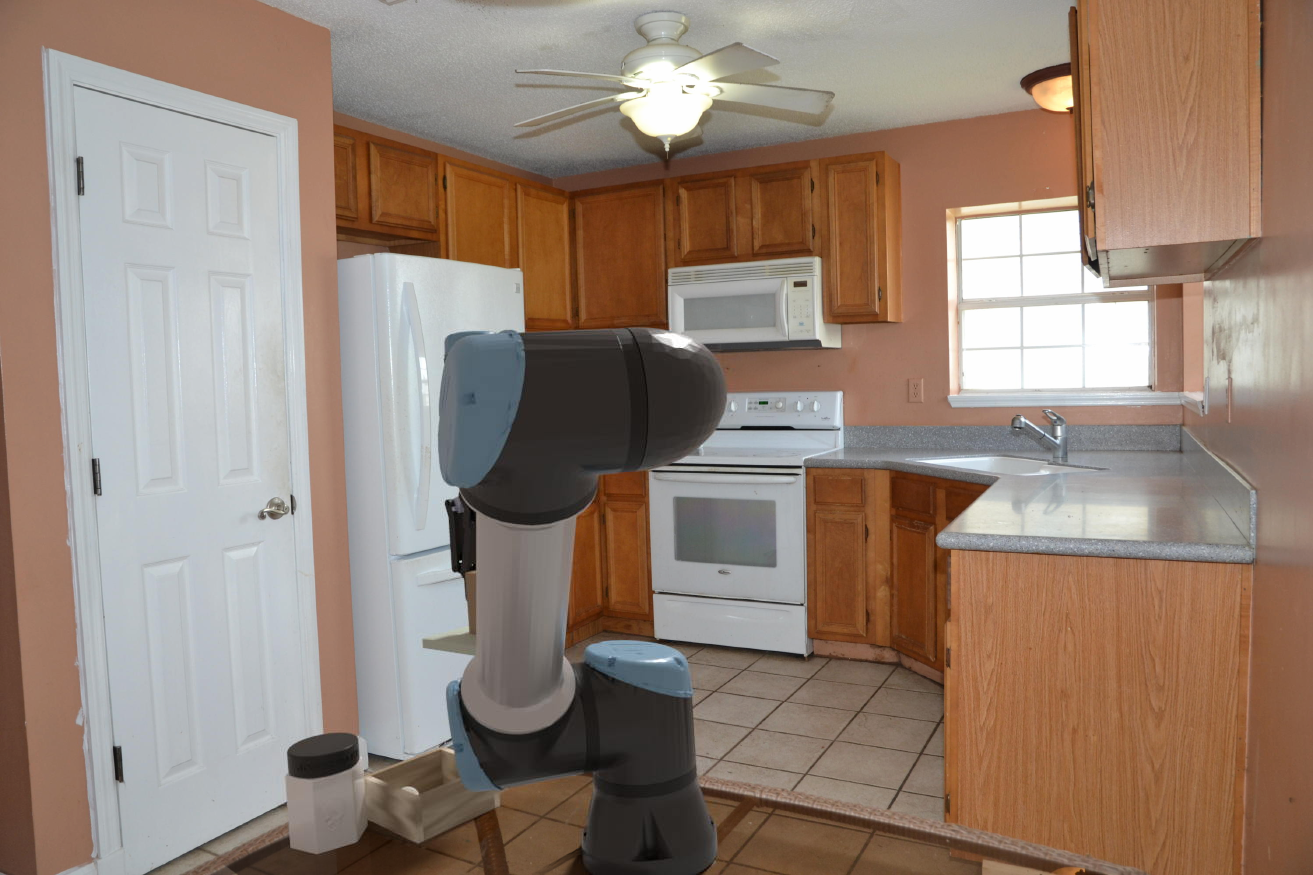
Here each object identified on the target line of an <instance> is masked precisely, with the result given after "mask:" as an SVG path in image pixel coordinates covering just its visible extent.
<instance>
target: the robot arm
mask: <svg viewBox="0 0 1313 875" xmlns="http://www.w3.org/2000/svg"><path fill="white" fill-rule="evenodd" d="M443 342H444V346H443V347H444V355H443V363H444V365H443V370H442V374H441V381H440V389H439V397H438V398H439V400H438V416H439V417H438V418H439V419H438V429H437V430H438V431H437V449H438V450H437V453H438V463H439V471H440V475H441V478H442V479H443V482H444V483H446V485H448V486H449V487H450V486H451V487H457V488H458V496H456V497H455V498H448V499H445V501H444V507H445V510H446V513H447V516H448V517H447V518H448V532H449V534H448V535H449V549H450V563H451V565H450V566H451V571H452V573H454V574H455V573H458V574H460V577H461V578H463V582H464V593H465V594H464V595H465V596H464V597H465V601H466V602H467V593H466V579H465V573H466V572H471V571H476V655H475V656H473V657H472V658H471V659H470V661H469V662H468V663H467V665H466V666H465V669H464V671H463V674H462V676H461V677H459V678H457V679H455V680H452V681H450V682H449V683H448V684H447V686H446V689H445V700H446V701H445V702H446V708H447V709H446V710H447V719H448V726H449V731H450V739H451V742H452V747H453V748H452V749H453V750H454V755H455V761H456V765H457V770H458V774H459V777H460V780H461V782H462V784H463V786H464V787H465V788H466V789H468V790H469V791H472V792H481V791H489V790H495V791H499V792H500V791H503V790H506V789H511V788H516V787H521V786H526V785H531V784H536V783H541V782H547V781H553V780H557V779H558V780H559V779H564V778H568V777H574V776H578V775H584V774H589V773H592V777H593V778H592V779H593V780H592V781H593V791H592V795H591V799H590V803H589V807H588V813H587V819H586V825H585V826H584V829H583V831H582V836H581V853H582V862H583V865H584V867H585V869H586V870H587V871H588V872H589V873H590V874H591V875H698V874H699V873H702V871H704V870H705V869H707V868H708V867H709V866H710V865H711V864H712V863H713V862H714V860H715V859H716V857H717V855H718V848H719V847H718V845H719V844H718V833H717V827H716V826H717V825H716V823H715V822H714V819H713V817H712V816H711V814H710V813H709V809H708V806H707V803H706V800H705V796H704V794H703V793H704V792H703V791H702V789H701V785H700V783H699V780H698V769H697V753H696V738H695V737H696V735H695V724H694V723H695V722H694V708H693V705H694V704H693V696H694V689H693V686H692V680H691V673H690V672H691V671H690V666H689V663H688V659H687V658H686V656H685V655H684V654H682V652H680V651H679V650H677V649H676V648H674V647H671V646H668V645H665V644H660V643H657V642H650V641H643V640H631V639H630V640H625V639H624V640H621V639H619V640H618V639H617V640H616V639H615V640H603V641H600V642H598V643H597V642H596V643H591V644H590V645H588V646H586V648H585V650H584V653H583V655H582V660H583V661H580V662H574V663H573V662H572V663H570V661H569V660H568V659H567V657H566V656H565V646H566V636H567V635H566V633H567V626H568V625H567V624H568V612H569V603H570V601H569V600H570V591H571V580H572V569H573V560H574V559H573V558H574V550H575V537H576V527H577V526H576V525H577V517H578V516H579V515H581V514H582V513H583V512H585V510H587V509H588V508H589V506H591V504H592V503H593V501H594V499H595V497H596V494H597V492H598V486H599V480H600V476H601V475H611V474H613V475H615V474H621V473H632V472H642V471H650V470H654V469H659V468H663V467H666V466H668V465H671V464H673V463H676V462H678V461H680V460H682V459H684V458H686V457H687V456H689V455H690V454H692V453H694V452H695V451H697V450H698V449H699V448H701V446H702V445H703V444H704V443H706V442H707V440H709V439H710V438H711V436H712V435H713V434H714V433H715V432H716V430H717V428H718V426H719V425H720V423H721V420H722V418H723V417H724V414H725V412H726V411H725V410H726V406H727V402H728V385H727V381H726V380H727V379H726V375H725V372H724V369H723V367H722V365H721V363H720V362H719V360H718V359H717V357H716V356H715V355H714V354H713V352H712V351H711V350H709V348H707V346H706V345H704V344H702V342H700V341H698V340H696V339H695V338H693V337H690V336H687V335H686V334H685V335H684V334H683V333H677V332H674V331H672V330H667V329H661V328H653V327H642V326H641V327H639V326H638V327H636V326H635V327H623V328H621V327H620V328H599V329H598V328H596V329H569V330H551V331H550V330H549V331H527V332H526V331H524V332H523V331H522V332H521V331H520V332H518V331H517V330H515V329H503V330H501V331H499V332H494V331H490V330H468V331H466V330H465V331H459V332H454V333H451V334H448V335H447V336H446V337H445V338H444V341H443Z"/></svg>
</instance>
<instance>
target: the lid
mask: <svg viewBox="0 0 1313 875" xmlns="http://www.w3.org/2000/svg"><path fill="white" fill-rule="evenodd" d="M465 579H466V593H467V601H466V605H467V616H468V617H467V618H468V625H466V626H463V627H459V628H456V629H453V630H448V631H444V632H441V633H438V634H434V635H431V636H427V637H423V638H422V640H421V641H422V642H421V643H422V648H423V649H426V650H427V649H429V650H433V651H441V652H448V653H453V654H461V655H465V656H467V655H468V656H473V657H474V656H475V655H476V571H471V572H466V573H465Z"/></svg>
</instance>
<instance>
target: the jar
mask: <svg viewBox="0 0 1313 875" xmlns="http://www.w3.org/2000/svg"><path fill="white" fill-rule="evenodd" d="M359 743H360V742H359V738H358V736H357V735H355V734H354V733H349V732H328V733H322V734H318V735H313V736H309V737H306V738H303V739H301V740H299V741H297V742H295V743H293V744H292V745H290V746H289V747H288V748H287V751H286V756H287V757H286V758H287V770H288V772H287V773H286V774H285V776H284V779H285V780H284V782H285V793H286V805H287V806H286V807H287V819H288V833H289V844H290V845H289V846H290V849H293V850H299V851H302V852H305V853H310V854H315V855H318V854H319V855H320V854H323V853H326V852H329V851H333V850H335V849H339V848H342V847H346V846H349V845H353V844H355V843H358V842H359V840H360V839H361V837H362V835H363V834H364V833H365V830H366V829H367V827H368V823H369V822H368V820H367V809H366V796H365V782H364V776H365V771H364V770H365V769H364V760H363V758H364V757H363V756H362V755H360V744H359Z"/></svg>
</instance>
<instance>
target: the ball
mask: <svg viewBox="0 0 1313 875" xmlns="http://www.w3.org/2000/svg"><path fill="white" fill-rule="evenodd" d="M401 789H403V790H405V791H408V792H410V793H413V794H415V795H419V793H418V791H417V790H416V789H415V788H413V787H403V788H401Z"/></svg>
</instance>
